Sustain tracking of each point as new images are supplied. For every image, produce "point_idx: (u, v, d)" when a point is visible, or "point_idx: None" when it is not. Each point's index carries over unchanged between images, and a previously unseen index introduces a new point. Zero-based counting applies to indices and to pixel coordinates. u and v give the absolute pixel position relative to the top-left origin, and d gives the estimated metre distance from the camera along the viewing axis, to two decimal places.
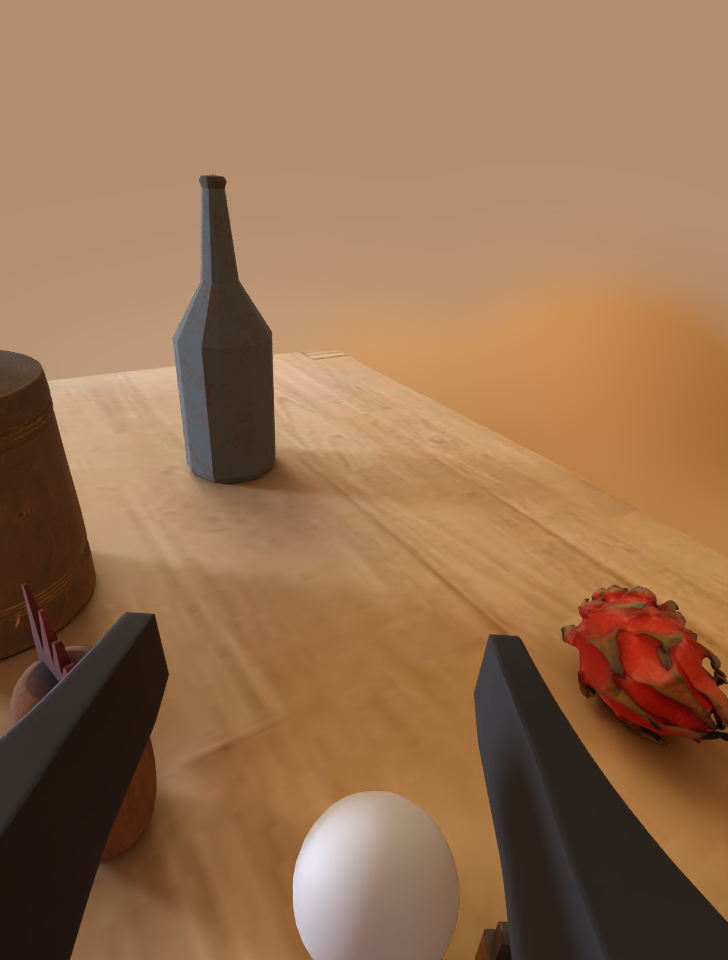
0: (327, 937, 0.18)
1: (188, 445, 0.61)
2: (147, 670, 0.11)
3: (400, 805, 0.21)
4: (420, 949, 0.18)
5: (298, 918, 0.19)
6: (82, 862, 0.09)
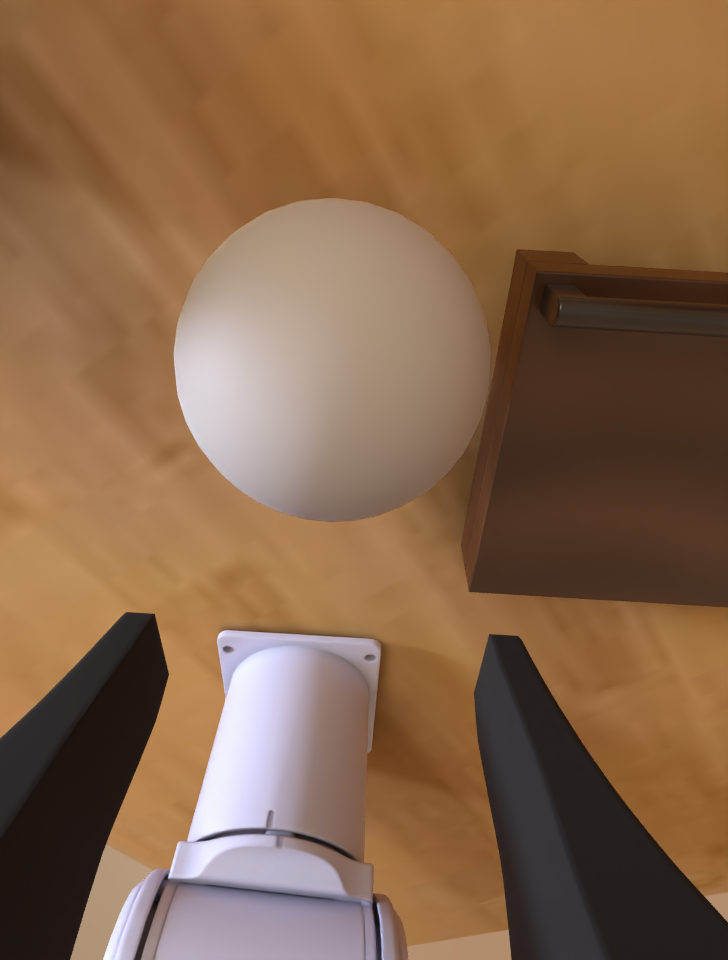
0: None
1: None
2: (147, 670, 0.11)
3: (374, 343, 0.08)
4: None
5: None
6: (82, 862, 0.09)
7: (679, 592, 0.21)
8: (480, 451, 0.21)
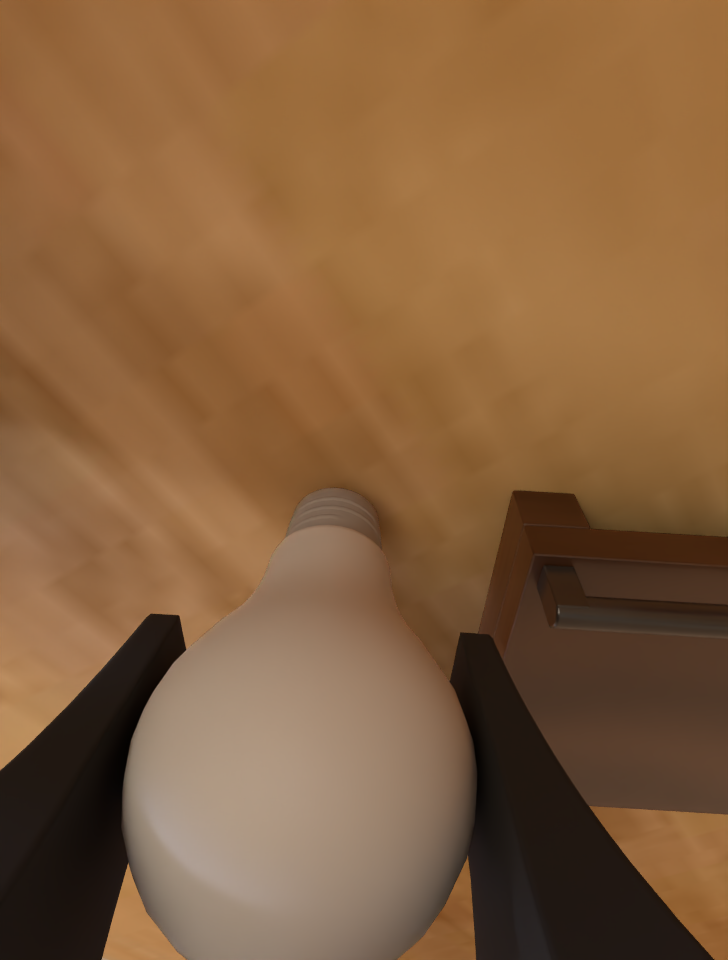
0: None
1: None
2: None
3: (339, 903, 0.07)
4: None
5: None
6: (112, 864, 0.09)
7: (683, 803, 0.20)
8: None
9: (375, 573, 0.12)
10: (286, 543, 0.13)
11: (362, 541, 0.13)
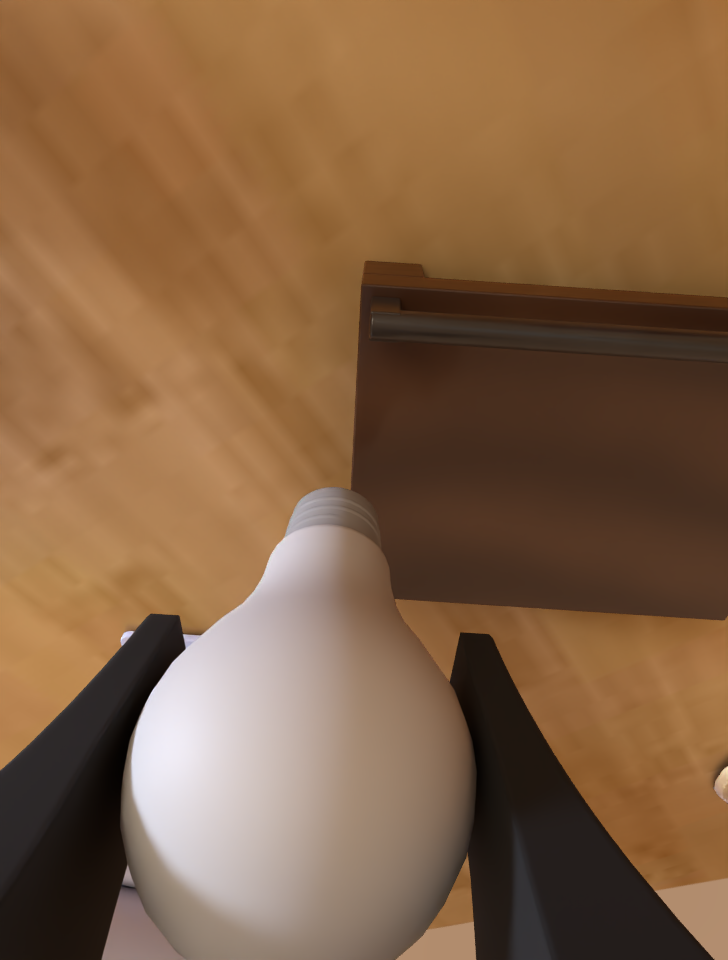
0: None
1: None
2: None
3: (338, 904, 0.07)
4: None
5: None
6: (112, 864, 0.09)
7: (550, 597, 0.21)
8: None
9: (374, 573, 0.12)
10: (285, 543, 0.13)
11: (361, 541, 0.13)
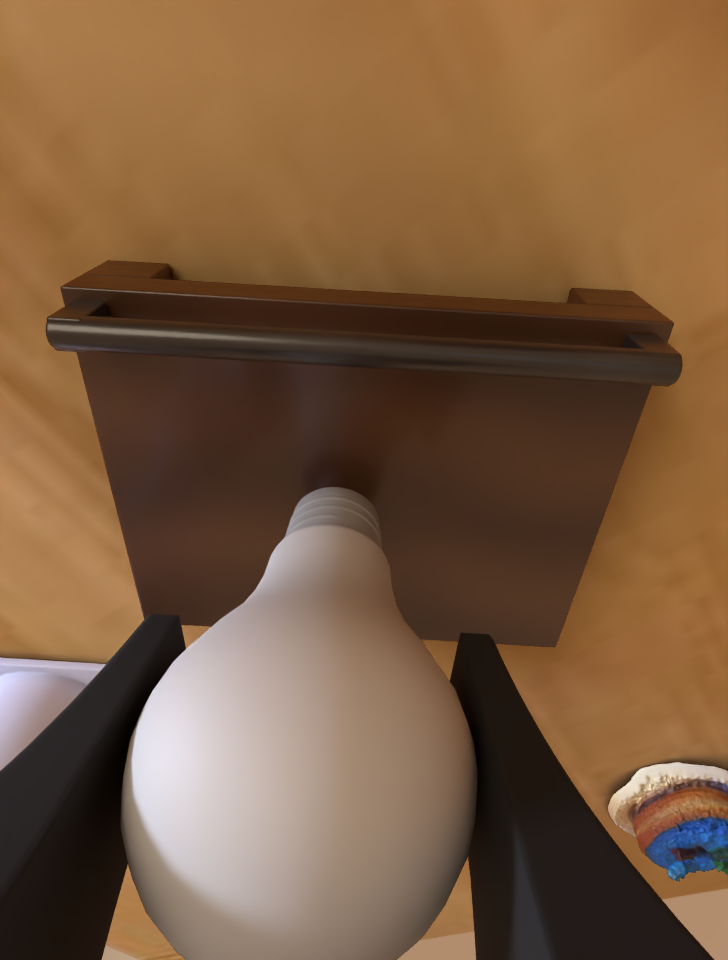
0: None
1: None
2: None
3: (338, 904, 0.07)
4: None
5: None
6: (112, 864, 0.09)
7: None
8: None
9: (374, 573, 0.12)
10: (286, 542, 0.13)
11: (362, 540, 0.13)
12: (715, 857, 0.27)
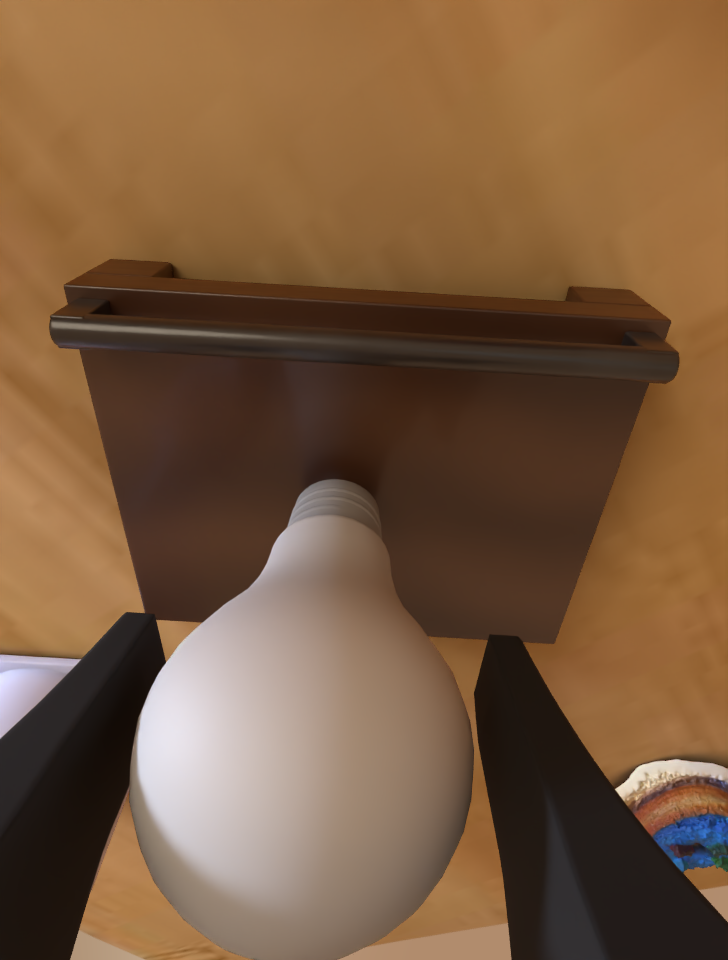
0: None
1: None
2: (147, 670, 0.11)
3: (340, 870, 0.07)
4: None
5: None
6: (82, 862, 0.09)
7: None
8: None
9: (374, 561, 0.13)
10: (288, 532, 0.14)
11: (362, 530, 0.14)
12: (713, 853, 0.27)
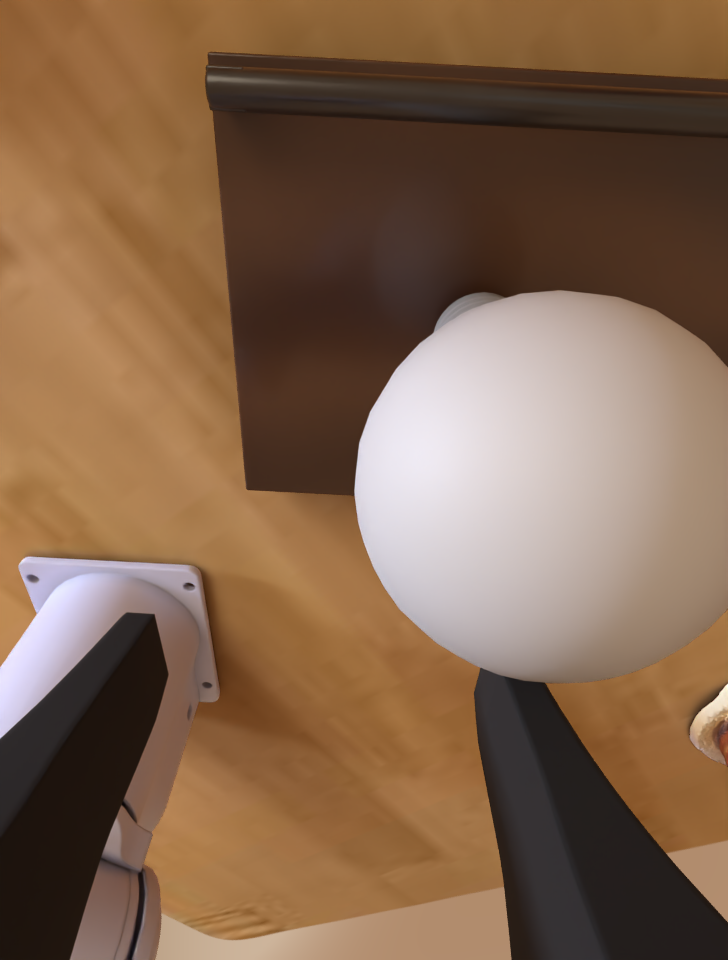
0: None
1: None
2: (147, 670, 0.11)
3: (692, 506, 0.06)
4: None
5: None
6: (82, 862, 0.09)
7: None
8: None
9: None
10: None
11: None
12: None
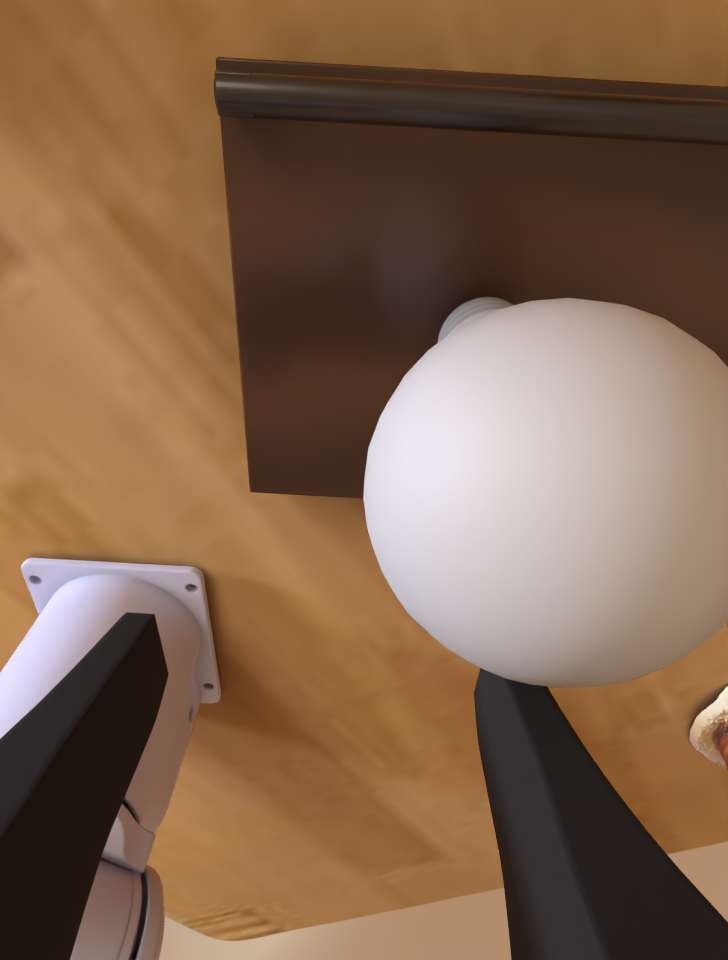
0: None
1: None
2: (147, 670, 0.11)
3: (703, 513, 0.06)
4: None
5: None
6: (82, 862, 0.09)
7: None
8: None
9: None
10: (462, 325, 0.12)
11: None
12: None
